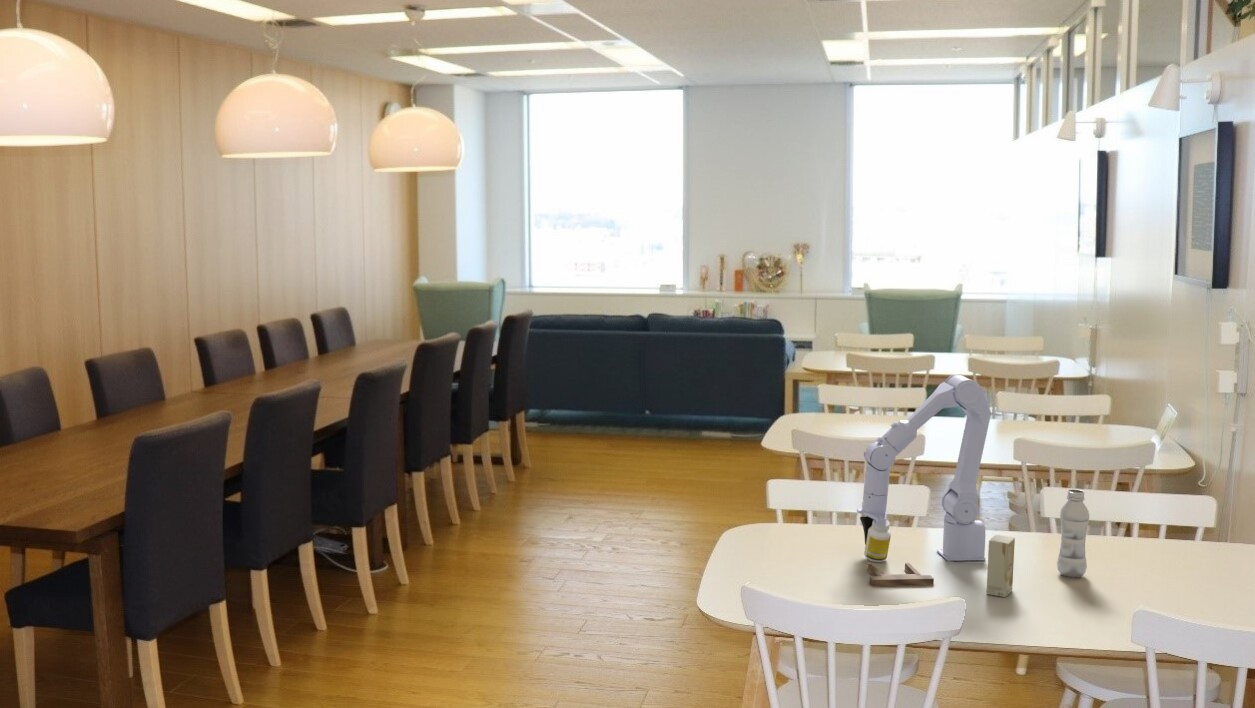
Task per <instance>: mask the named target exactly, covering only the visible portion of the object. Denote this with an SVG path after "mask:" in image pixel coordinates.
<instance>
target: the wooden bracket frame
mask: <svg viewBox="0 0 1255 708" xmlns="http://www.w3.org/2000/svg"><path fill="white" fill-rule="evenodd" d="M866 566H867V567H866V571H867V572H868V573H869V574H870V575H871V576H869V582H868V583H869V584H870V585H871V587H898V586H899V587H902V586H906V587H908V585H909V587H911V586H910V585H912V586H934V580H935V579H934V577H933V576H932V575H931V574H926V575H925V574H921V573H920V572H919V570H917V569H916V568H915V567H914V566H913V565H912V564H911V563H910V562H905V563H904V570H905V571H906V572H907V573H902V574H901V573H897V574H881V572H880V571H878V569H877V568H876V567H875V566H874V565H873V563H867V565H866Z"/></svg>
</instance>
